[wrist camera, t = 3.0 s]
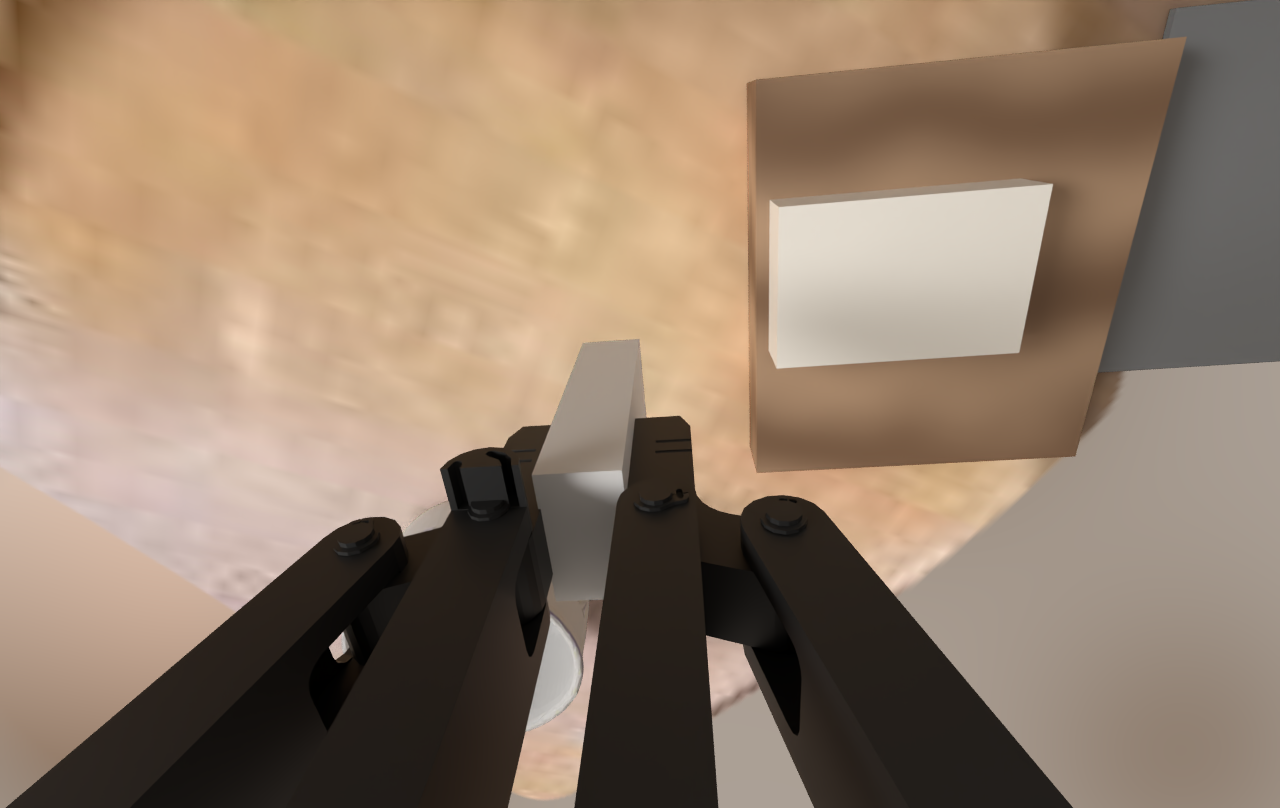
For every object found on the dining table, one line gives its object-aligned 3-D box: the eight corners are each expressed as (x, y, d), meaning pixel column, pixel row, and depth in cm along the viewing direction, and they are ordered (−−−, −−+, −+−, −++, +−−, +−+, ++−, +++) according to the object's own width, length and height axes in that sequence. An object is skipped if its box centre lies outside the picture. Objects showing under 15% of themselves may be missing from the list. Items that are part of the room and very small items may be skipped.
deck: (747, 83, 23) (755, 79, 20) (1133, 44, 22) (1186, 36, 19) (749, 445, 30) (757, 472, 27) (1043, 429, 29) (1075, 456, 26)
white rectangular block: (769, 200, 22) (778, 207, 20) (1020, 178, 22) (1053, 184, 20) (768, 350, 25) (776, 368, 23) (992, 335, 24) (1019, 352, 22)
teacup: (635, 524, 32) (625, 642, 25) (547, 646, 36) (518, 777, 29) (391, 405, 30) (302, 498, 22) (328, 552, 34) (237, 670, 27)
